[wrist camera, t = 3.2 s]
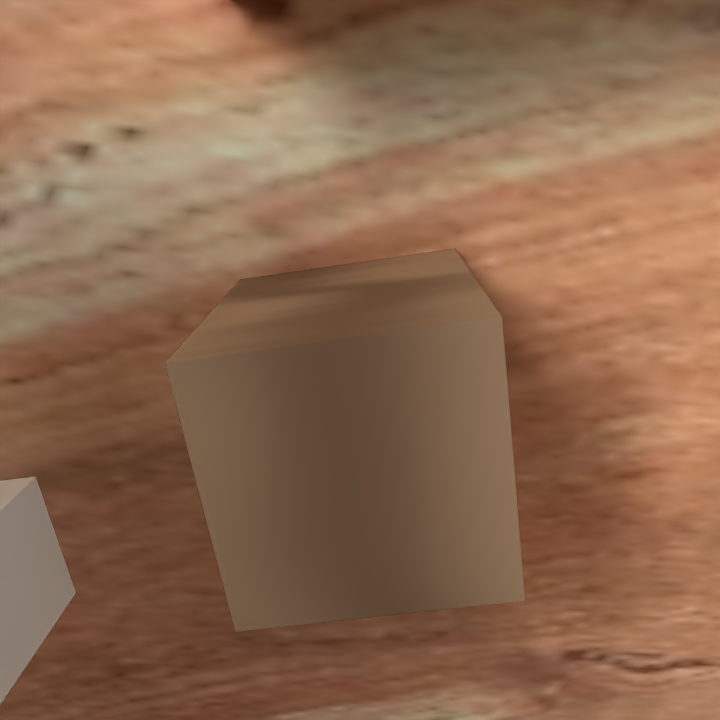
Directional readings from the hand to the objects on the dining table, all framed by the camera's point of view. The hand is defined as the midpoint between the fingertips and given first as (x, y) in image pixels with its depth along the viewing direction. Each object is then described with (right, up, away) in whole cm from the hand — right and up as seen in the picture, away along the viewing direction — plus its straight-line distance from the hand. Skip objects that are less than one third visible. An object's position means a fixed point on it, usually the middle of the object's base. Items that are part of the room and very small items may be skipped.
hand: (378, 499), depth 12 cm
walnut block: (0, +3, +7) cm, 7 cm away
